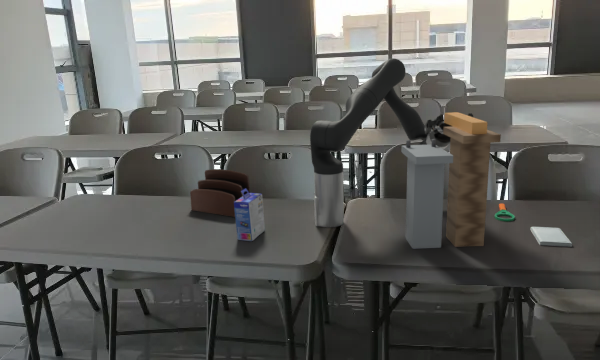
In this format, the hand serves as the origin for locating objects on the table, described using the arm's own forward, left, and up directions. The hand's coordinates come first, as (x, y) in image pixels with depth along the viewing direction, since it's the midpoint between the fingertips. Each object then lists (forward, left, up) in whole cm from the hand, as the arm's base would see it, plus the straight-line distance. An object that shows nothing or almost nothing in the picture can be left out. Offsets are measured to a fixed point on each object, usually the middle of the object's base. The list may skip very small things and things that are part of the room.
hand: (456, 116), depth 142 cm
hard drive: (+25, -11, -35) cm, 44 cm away
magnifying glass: (+21, +11, -35) cm, 42 cm away
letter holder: (-74, +28, -35) cm, 87 cm away
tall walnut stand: (0, -11, -34) cm, 36 cm away
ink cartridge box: (-62, +1, -35) cm, 71 cm away
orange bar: (0, -6, -2) cm, 7 cm away
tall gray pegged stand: (-12, -11, -34) cm, 38 cm away
